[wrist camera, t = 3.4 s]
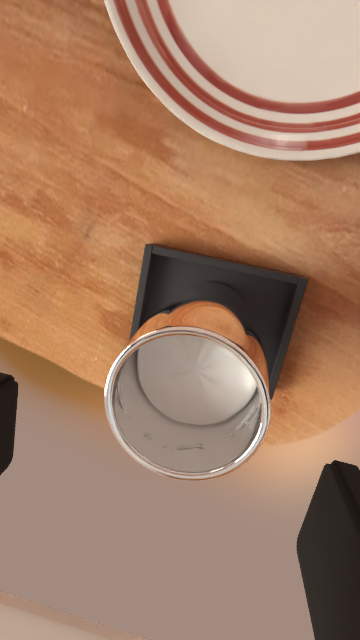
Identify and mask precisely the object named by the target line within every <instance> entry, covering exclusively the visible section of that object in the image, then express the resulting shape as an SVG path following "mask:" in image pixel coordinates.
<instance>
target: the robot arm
mask: <svg viewBox="0 0 360 640" xmlns="http://www.w3.org/2000/svg"><path fill="white" fill-rule="evenodd" d="M17 397H18V383H17V382H15V381H14V377H13V376H12V375H8V374H4V373H0V475H1V473H3V472H4V470H6V469H7V467H8V466H9V464H10V463H11V461H12V458H13V450H14V436H15V422H16V410H17ZM297 554H298V559H299V564H300V568H301V573H302V578H303V583H304V588H305V593H306V598H307V602H308V608H309V612H310V617H311V622H312V627H313V632H314V637H315V640H360V470H359V468H358V467H357V466H355V465H352V464H348V463H344V462H340V461H337V460H335V461H333V462H332V463H331V464H326V465H325V466H324V468H323V471H322V473H321V476H320V479H319V481H318V484H317V487H316V489H315V492H314V495H313V498H312V500H311V503H310V505H309V508H308V511H307V513H306V516H305V519H304V522H303V524H302V527H301V530H300V532H299V535H298V538H297ZM0 640H147V639H145V638H141V637H138V636H135V635H132V634H129V633H126V632H123V631H120V630H117V629H114V628H111V627H108V626H105V625H102V624H99V623H96V622H93V621H90V620H87V619H83V618H81V617H78V616H74V615H71V614H68V613H65V612H62V611H59V610H56V609H53V608H50V607H47V606H43V605H41V604H37V603H34V602H31V601H28V600H25V599H22V598H19V597H16V596H13V595H10V594H7V593H4V592H1V591H0Z"/></svg>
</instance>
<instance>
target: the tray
mask: <svg viewBox="0 0 360 640" xmlns="http://www.w3.org/2000/svg"><path fill="white" fill-rule="evenodd" d="M210 282H213V283H220V284H224V285H226V286H229V287H231V288H232V289H234V290H235V291H236V292H237V293H239V294H240V296H241V297H242V298H243V299H244V301H245V303H246V305H247V307H248V310H249V316H250V322H251V324H252V325H253V326H254V328H255V329H256V331H257V333H258V335H259V337H260V340H261V343H262V345H263V348H264V351H265V355H266V360H267V367H268V374H269V397H270V399H271V400H272V398H273V394H274V391H275V388H276V385H277V381H278V378H279V375H280V371H281V368H282V365H283V361H284V358H285V355H286V351H287V348H288V345H289V342H290V338H291V335H292V332H293V328H294V325H295V322H296V318H297V315H298V312H299V308H300V305H301V302H302V299H303V295H304V292H305V289H306V285H307V282H308V279H307V278H306V277H304V276H300V275H296V274H291V273H286V272H282V271H277V270H272V269H268V268H263V267H258V266H254V265H249V264H244V263H240V262H235V261H230V260H226V259H221V258H216V257H212V256H207V255H202V254H198V253H193V252H188V251H184V250H179V249H174V248H170V247H165V246H160V245H156V244H146V245H145V250H144V256H143V262H142V268H141V274H140V280H139V286H138V292H137V298H136V304H135V310H134V316H133V322H132V328H131V334H130V339H129V341H130V340H131V339H132V337H133V336H134V335H135V333H136V332H137V331H138V330H139V328H140V327H141V326H142V325H143V324H144V323H145V322H146V321H147V320H148V319H149V318H150V317H151V316H152V315H154V314H155V313H156V312H158V311H159V310H160V309H162V308H163V307H165V306H167V305H168V304H170V303H172V302H175V301H178V300H180V299H181V297H182V296H183V295H184V294H185V293H186V292H187V291H188V290H189V289H191V288H192V287H194V286H196V285H199V284H203V283H210Z"/></svg>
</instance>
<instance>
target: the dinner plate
mask: <svg viewBox="0 0 360 640" xmlns="http://www.w3.org/2000/svg"><path fill="white" fill-rule="evenodd" d="M104 2H105V5H106V8H107V11H108V14H109V17H110V19H111V22H112V24H113V27H114V29H115V31H116V34H117V36H118V38H119V40H120V42H121V44H122V46H123V48H124V50H125V52H126V54H127V56H128V58H129V59H130V61H131V63H132V65H133V66H134V68H135V69H136V71H137V72H138V74H139V75H140V77H141V78H142V80H143V81H144V82H145V84H146V85H147V86H148V87H149V89H150V90H151V91H152V92H153V93H154V95H155V96H156V97H157V98H158V99H159V100H160V101H161V102H162V104H163V105H164V106H165V107H167V108H168V109H169V110H170V111H171V112H172V113H173V114H174V115H175V116H176V117H178V118H179V119H180V120H181V121H183V122H184V123H185V124H187V125H188V126H190V127H191V128H192V129H194V130H195V131H197V132H198V133H200V134H201V135H203V136H205V137H207V138H209V139H210V140H212V141H214V142H217V143H219V144H221V145H224V146H226V147H229V148H231V149H234V150H236V151H239V152H243V153H246V154H250V155H254V156H258V157H263V158H268V159H277V160H288V161H314V160H324V159H332V158H338V157H343V156H349V155H354V154H358V153H360V0H104Z"/></svg>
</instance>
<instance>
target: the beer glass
mask: <svg viewBox="0 0 360 640" xmlns="http://www.w3.org/2000/svg"><path fill="white" fill-rule="evenodd" d="M104 405H105V412H106V416H107V419H108V423H109V425H110V428H111V430H112V432H113V434H114V436H115V437H116V439H117V440H118V442H119V443H120V445H121V446H122V447H123V448H124V449H125V451H126V452H127V453H128V454H129V455H130V456H132V457H133V458H134V459H135V460H136V461H137V462H139V463H140V464H141V465H143V466H145V467H146V468H148V469H150V470H152V471H154V472H156V473H158V474H161V475H163V476H166V477H169V478H173V479H178V480H186V481H201V480H209V479H214V478H218V477H221V476H224V475H226V474H229V473H231V472H233V471H234V470H236V469H238V468H239V467H241V466H242V465H243V464H245V463H246V462H247V461H248V460H249V459H250V458H251V457H252V456H253V455H254V454H255V453H256V451H257V450H258V449H259V447H260V446H261V444H262V442H263V440H264V438H265V436H266V433H267V431H268V427H269V423H270V415H271V404H270V397H269V374H268V367H267V360H266V355H265V351H264V348H263V345H262V343H261V340H260V337H259V335H258V333H257V331H256V329H255V328H254V326H253V325H252V324H251V322H250V316H249V310H248V307H247V305H246V303H245V301H244V299H243V298H242V297H241V296H240V294H239V293H237V292H236V291H235V290H234V289H232V288H231V287H229V286H226V285H224V284H220V283H213V282H210V283H203V284H199V285H196V286H194V287H192V288H191V289H189V290H188V291H187V292H186V293H185V294H184V295H183V296H182V297H181V299H180V300H178V301H175V302H172V303H170V304H168V305H167V306H165V307H163V308H162V309H160V310H159V311H158V312H156V313H155V314H154V315H152V316H151V317H150V318H149V319H148V320H147V321H146V322H145V323H144V324H143V325H142V326H141V327H140V328H139V330H138V331H137V332H136V333H135V335H134V336H133V337H132V339H131V340H130V341H129V343H128V344H127V346H126V347H125V348H124V349H123V350H122V352H121V353H120V354H119V355H118V356H117V358H116V359H115V361H114V363H113V364H112V366H111V368H110V371H109V373H108V376H107V379H106V383H105V390H104Z"/></svg>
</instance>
